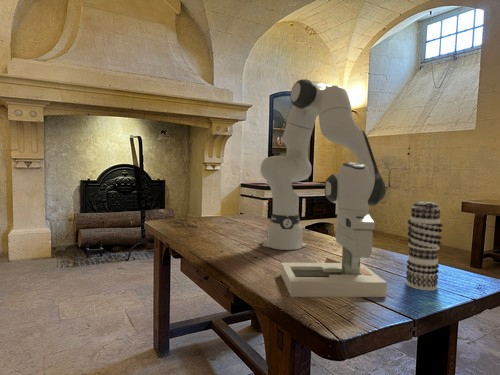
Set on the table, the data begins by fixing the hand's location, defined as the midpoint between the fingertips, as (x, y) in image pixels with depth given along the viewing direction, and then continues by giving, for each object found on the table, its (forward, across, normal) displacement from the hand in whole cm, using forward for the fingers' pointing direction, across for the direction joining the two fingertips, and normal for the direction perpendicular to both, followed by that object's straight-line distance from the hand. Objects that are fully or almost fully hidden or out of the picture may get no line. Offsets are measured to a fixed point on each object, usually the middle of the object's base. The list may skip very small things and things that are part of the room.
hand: (350, 264), depth 99 cm
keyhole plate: (+6, 0, -6) cm, 9 cm away
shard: (+7, -19, 0) cm, 20 cm away
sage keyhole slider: (+6, 0, 0) cm, 6 cm away
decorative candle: (+6, 0, +22) cm, 23 cm away
